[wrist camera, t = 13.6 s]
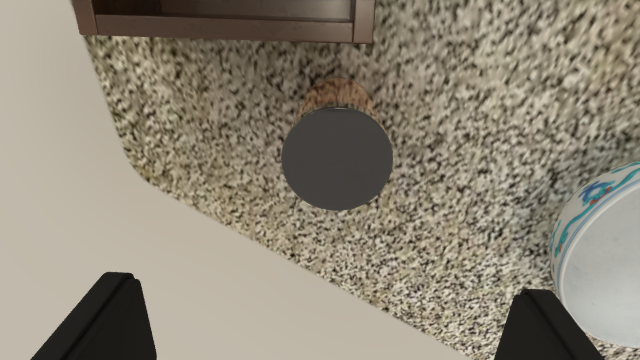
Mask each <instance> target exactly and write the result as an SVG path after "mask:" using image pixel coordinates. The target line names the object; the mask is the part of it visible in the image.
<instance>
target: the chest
mask: <svg viewBox="0 0 640 360" xmlns="http://www.w3.org/2000/svg"><path fill="white" fill-rule="evenodd" d="M72 1H73V6H74V10H75V15H76V19H77V24H78V28H79V33H80V34H81V35H102V36H133V37H165V38H196V39H228V40H259V41H290V42H322V43H352V42H353V43H354V44H372V43H373V32H374V20H375V7H376V0H72Z"/></svg>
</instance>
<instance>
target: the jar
mask: <svg viewBox="0 0 640 360" xmlns="http://www.w3.org/2000/svg"><path fill="white" fill-rule="evenodd" d="M281 162H282V169H283V173H284V176H285V178H286V180H287V182H288V184H289V186H290V187H291V188H292V190H293V191H294V192H295V193H296V194H297V195H298V196H299V197H300V198H301V199H303V200H304V201H306V202H307V203H309V204H311V205H313V206H315V207H318V208H321V209H326V210H333V211H342V210H349V209H353V208H356V207H359V206H361V205H363V204H365V203H367V202H369V201H370V200H372V199H373V198H374V197H375V196H376V195H377V194H378V193H379V192H380V191H381V190H382V189H383V187H384V186H385V184H386V183H387V181H388V179H389V177H390V174H391V171H392V165H393V151H392V147H391V143H390V140H389V138H388V135H387V133H386V130H385V129H384V127H383V125H382V124H381V122H380V121H379V119H378V116H377V113H376V111H375V108H374V105H373V103H372V100H371V98H370V96H369V94H368V93H367V92H366V90H365V89H364V88H363V87H362V86H360V85H359V84H358V83H356V82H354V81H352V80H349V79H345V78H330V79H326V80H323V81H321V82H319V83H318V84H316V85H315V86H314V87H312V88H311V89H310V90H309V92H308V93H307V94H306V96H305V98H304V100H303V102H302V105H301V107H300V110H299V113H298V115H297V118H296V120H295V122H294V123H293V124H292V126H291V128H290V129H289V131H288V134H287V136H286V139H285V141H284V144H283V148H282V154H281Z"/></svg>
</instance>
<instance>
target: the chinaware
mask: <svg viewBox="0 0 640 360" xmlns="http://www.w3.org/2000/svg"><path fill="white" fill-rule="evenodd" d="M549 260H550V269H551V274H552V278H553V282H554V285H555V288H556V291H557V294H558V296H559V298H560V301H561V303H562V305H563V306H564V307H565V308H566V310H567V311H568V312H569V314H570V315H571V316H572V318H573V319H574V320H575V322H576V323H577V324H578V325H579V327H580V328H581V329H582V330H583V331H584V332H586V333H587V334H589V335H591V336H592V337H594V338H596V339H599V340H601V341H604V342H606V343H610V344H613V345H617V346H623V347H630V348H640V160H639V161H635V162H632V163H628V164H625V165H622V166H619V167H617V168H614V169H612V170H610V171H608V172H605V173H604V174H602V175H600V176H598V177H596V178H595V179H593V180H592V181H590V182H589V183H587V184H586V185H584V186H583V187H582V188H580V189H579V190H578V191H577V192H576V193H575V194H574V195H573V196H572V198H571V199H570V200H569V201H568V202H567V204H566V205H565V206H564V208H563V209H562V211H561V213H560V214H559V216H558V218H557V220H556V223H555V225H554V228H553V231H552V235H551V240H550V247H549Z"/></svg>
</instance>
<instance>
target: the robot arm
mask: <svg viewBox="0 0 640 360" xmlns="http://www.w3.org/2000/svg"><path fill="white" fill-rule="evenodd" d="M156 358H157V355H156V349H155V345H154V340H153V336H152V331H151V327H150V322H149V318H148V314H147V310H146V305H145V301H144V296H143V291H142V287H141V283H140V281H139V280H138V279H135V278H134V276H133V274H131V273H121V272H120V273H119V272H106V273H104V274H103V275H102V276H101V277H100V279H99V280H98V281H97V282H96V283H95V284H94V285H93V287H92V288H91V289H90V290H89V291H88V293H87V294H86V295H85V296H84V297H83V298H82V300H81V301H80V302H79V303H78V304H77V306H76V307H75V308H74V309H73V310H72V311H71V313H70V314H69V315H68V316H67V317H66V318H65V320H64V321H63V322H62V323H61V324H60V326H59V327H58V328H57V329H56V330H55V332H54V333H53V334H52V335H51V336H50V337H49V339H48V340H47V341H46V342H45V343H44V344H43V346H42V347H41V348H40V349H39V350H38V351H37V353H36V354H35V355H34V356H33V357H32V359H31V360H156ZM494 360H605V359H604V358H603V357H602V355H601V354H600V353H599V352H598V350H597V349H596V348H595V346H594V345H593V344H592V342H591V341H590V340H589V338H588V337H587V336H586V335H585V333H584V332H583V331H582V329H581V328H580V327H579V325H578V324H577V323H576V322H575V320H574V319H573V318H572V316H571V315H570V314H569V312H568V311H567V310H566V308H565V307H564V306H563V305H562V303H561V302H560V301H559V299H558V298H557V297H556V295H555V294H554V293H553V292H552V291H550V290H542V289H523V290H522V291H521V293H520V295H515V296H514V298H513V301H512V304H511V308H510V311H509V314H508V317H507V320H506V323H505V326H504V330H503V333H502V336H501V339H500V342H499V345H498V348H497V351H496V355H495V358H494Z"/></svg>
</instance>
